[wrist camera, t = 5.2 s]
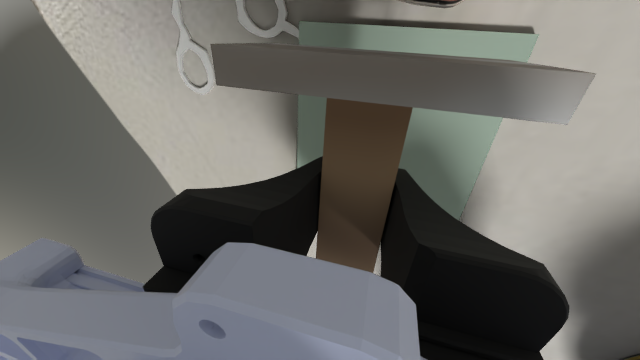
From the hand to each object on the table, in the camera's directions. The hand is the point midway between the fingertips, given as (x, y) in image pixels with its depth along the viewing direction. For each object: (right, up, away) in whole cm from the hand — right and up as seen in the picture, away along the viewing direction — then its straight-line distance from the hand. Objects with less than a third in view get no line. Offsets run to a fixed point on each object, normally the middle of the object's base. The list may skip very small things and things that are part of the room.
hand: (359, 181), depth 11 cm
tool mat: (+3, +2, +7) cm, 8 cm away
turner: (+1, 0, +3) cm, 3 cm away
